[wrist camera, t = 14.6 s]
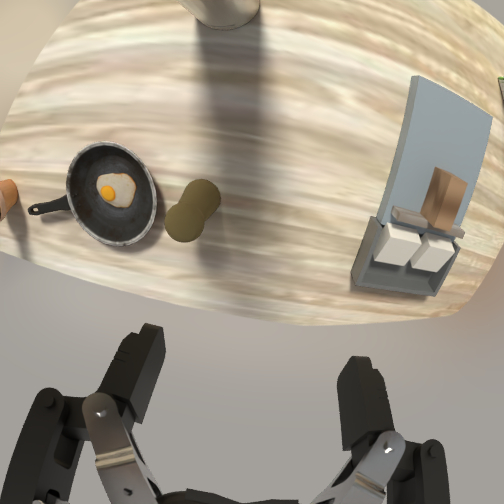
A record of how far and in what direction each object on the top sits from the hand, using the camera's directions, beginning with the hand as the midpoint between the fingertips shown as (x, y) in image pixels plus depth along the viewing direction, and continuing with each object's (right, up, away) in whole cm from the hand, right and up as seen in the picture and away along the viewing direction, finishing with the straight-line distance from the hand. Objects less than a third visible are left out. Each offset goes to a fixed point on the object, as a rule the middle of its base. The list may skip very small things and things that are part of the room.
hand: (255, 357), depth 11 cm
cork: (-8, +13, +32) cm, 35 cm away
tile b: (+23, +7, +31) cm, 39 cm away
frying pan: (-30, +15, +33) cm, 47 cm away
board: (+29, +19, +25) cm, 43 cm away
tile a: (+31, +5, +31) cm, 44 cm away
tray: (+27, +4, +34) cm, 43 cm away
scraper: (+29, +14, +25) cm, 40 cm away
